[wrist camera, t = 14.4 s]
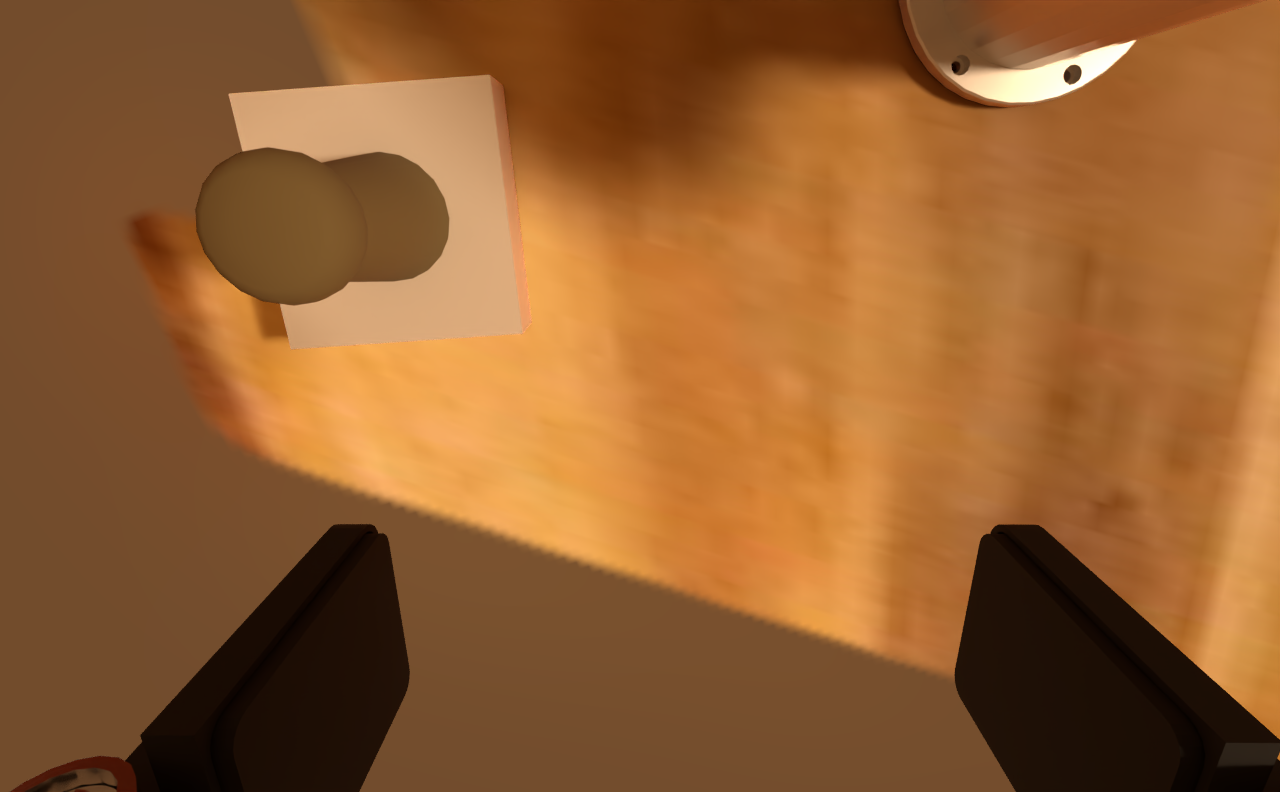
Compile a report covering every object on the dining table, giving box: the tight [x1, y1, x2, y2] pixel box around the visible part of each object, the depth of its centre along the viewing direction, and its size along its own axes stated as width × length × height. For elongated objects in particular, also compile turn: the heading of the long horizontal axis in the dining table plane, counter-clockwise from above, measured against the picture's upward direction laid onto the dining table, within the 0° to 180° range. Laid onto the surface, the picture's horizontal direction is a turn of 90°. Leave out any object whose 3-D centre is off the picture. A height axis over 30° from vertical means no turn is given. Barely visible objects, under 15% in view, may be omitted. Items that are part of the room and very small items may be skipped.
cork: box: [196, 147, 449, 306], centre depth 25 cm, size 6×6×11 cm
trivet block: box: [229, 75, 532, 349], centre depth 32 cm, size 12×12×3 cm
